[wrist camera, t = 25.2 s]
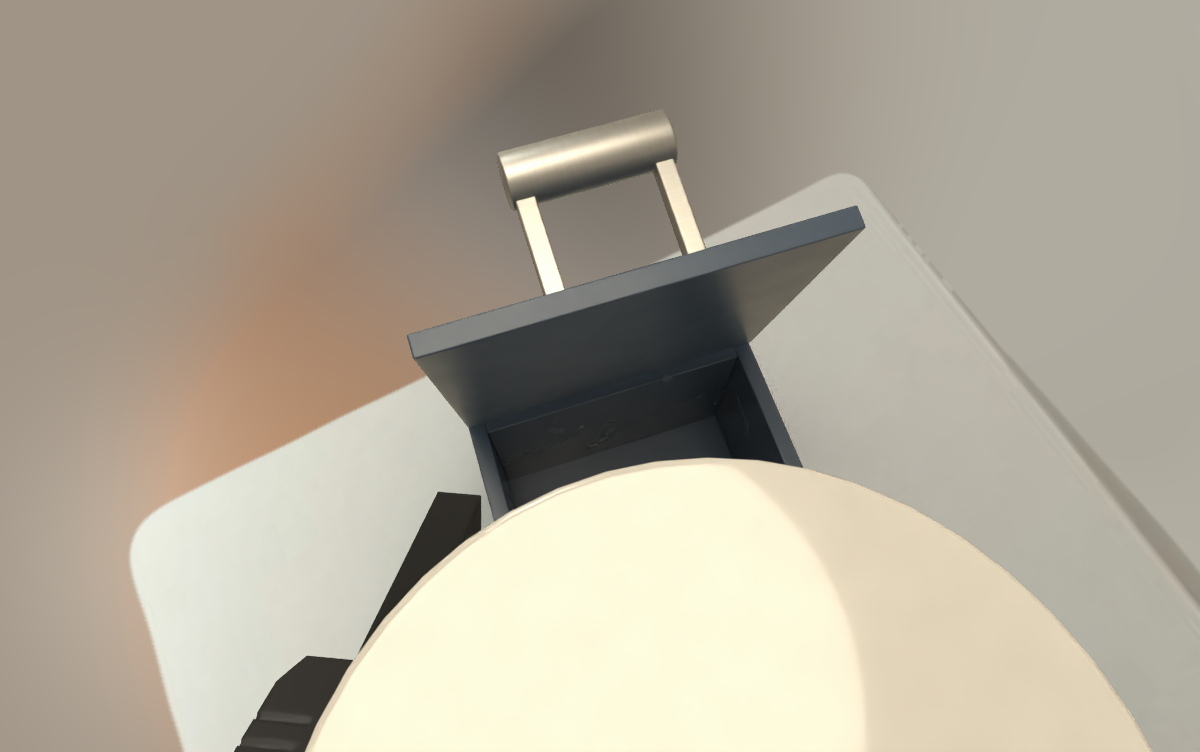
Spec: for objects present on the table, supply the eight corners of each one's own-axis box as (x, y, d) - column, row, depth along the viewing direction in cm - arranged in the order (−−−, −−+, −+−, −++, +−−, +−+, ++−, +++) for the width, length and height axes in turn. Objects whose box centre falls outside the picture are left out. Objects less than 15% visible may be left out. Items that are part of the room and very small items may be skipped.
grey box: (812, 631, 44) (867, 613, 35) (561, 719, 42) (550, 725, 33) (720, 404, 49) (747, 338, 40) (493, 475, 47) (467, 423, 38)
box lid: (866, 227, 25) (791, 40, 26) (413, 359, 23) (355, 154, 24) (751, 341, 39) (706, 218, 41) (468, 427, 38) (430, 297, 39)
